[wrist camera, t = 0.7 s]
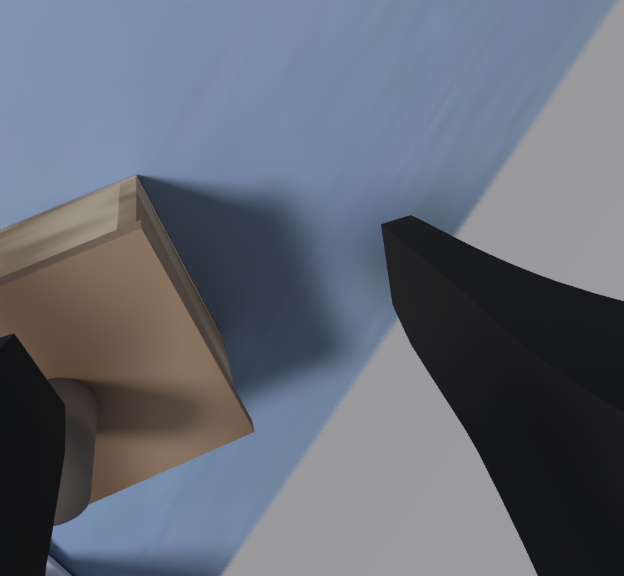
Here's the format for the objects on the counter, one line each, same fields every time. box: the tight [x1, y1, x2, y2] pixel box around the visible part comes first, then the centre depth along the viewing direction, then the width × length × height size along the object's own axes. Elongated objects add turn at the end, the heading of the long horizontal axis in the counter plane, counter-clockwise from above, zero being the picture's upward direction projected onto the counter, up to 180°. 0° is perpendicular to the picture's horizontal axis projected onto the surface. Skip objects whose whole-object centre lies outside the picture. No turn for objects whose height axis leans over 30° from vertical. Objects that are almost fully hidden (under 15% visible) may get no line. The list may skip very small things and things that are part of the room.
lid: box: [0, 220, 255, 526], centre depth 16 cm, size 10×9×5 cm
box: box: [0, 175, 234, 387], centre depth 20 cm, size 9×8×5 cm
